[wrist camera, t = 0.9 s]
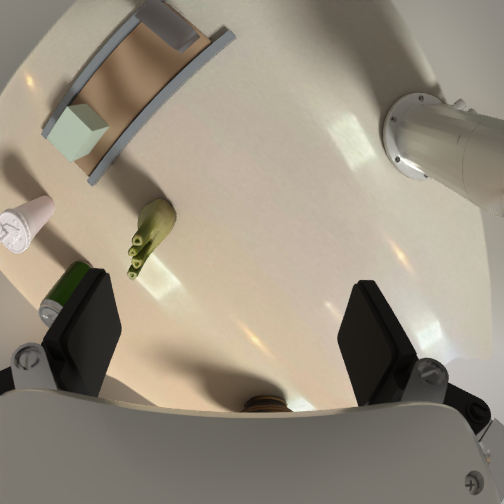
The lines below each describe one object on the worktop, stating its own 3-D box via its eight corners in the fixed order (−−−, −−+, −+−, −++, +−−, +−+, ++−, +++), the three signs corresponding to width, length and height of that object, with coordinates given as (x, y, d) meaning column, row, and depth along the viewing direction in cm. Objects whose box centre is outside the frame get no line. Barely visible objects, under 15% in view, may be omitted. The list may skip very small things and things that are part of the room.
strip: (164, 2, 26) (149, -14, 20) (212, 42, 29) (205, 31, 23) (52, 136, 33) (25, 145, 28) (90, 174, 37) (67, 189, 31)
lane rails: (172, -16, 25) (170, -19, 24) (236, 38, 29) (236, 36, 28) (45, 132, 33) (40, 134, 32) (96, 184, 38) (92, 186, 37)
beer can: (88, 255, 43) (52, 300, 33) (103, 282, 46) (74, 330, 35) (66, 263, 44) (31, 306, 33) (81, 288, 46) (51, 334, 36)
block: (86, 103, 31) (67, 106, 27) (109, 126, 33) (92, 131, 29) (66, 131, 33) (46, 138, 28) (88, 153, 35) (70, 162, 30)
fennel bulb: (161, 238, 42) (135, 287, 32) (135, 216, 40) (101, 260, 30) (186, 211, 40) (165, 255, 30) (159, 188, 38) (128, 224, 28)
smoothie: (28, 190, 37) (-28, 227, 25) (56, 184, 37) (-2, 223, 25) (38, 226, 40) (-12, 270, 28) (65, 222, 40) (15, 270, 28)
